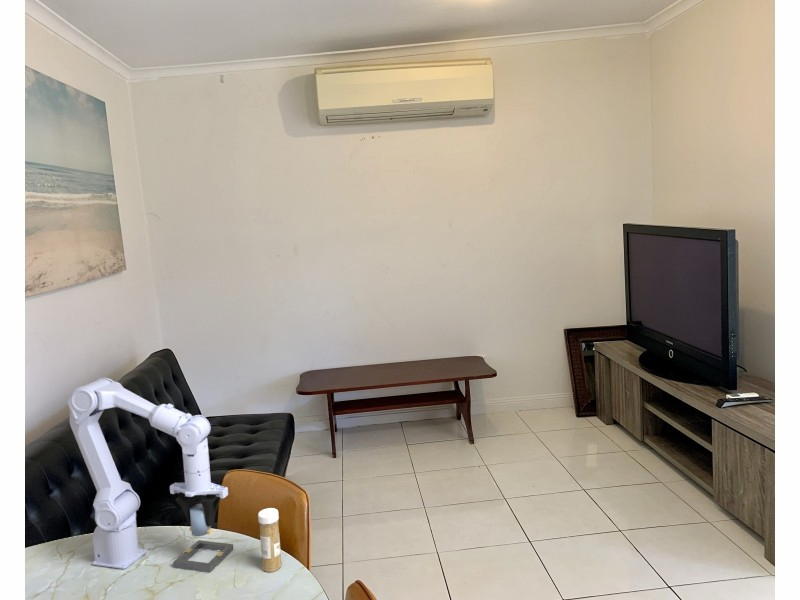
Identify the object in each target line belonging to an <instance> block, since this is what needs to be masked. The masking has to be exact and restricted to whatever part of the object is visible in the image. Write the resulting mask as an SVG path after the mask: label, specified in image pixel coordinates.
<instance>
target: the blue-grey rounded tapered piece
mask: <svg viewBox="0 0 800 600" xmlns="http://www.w3.org/2000/svg"><path fill="white" fill-rule="evenodd" d="M190 518H191V525H190V527H189V532H191V535H192V536H193V537H203V536H206V535H211V534H212V533H214V528H212V525H211V526H209V527H208V526H207V525H206V519H205V512H204V508H203V506H202V504H201V503H196V505H194V506H192V507H191V508H190Z"/></svg>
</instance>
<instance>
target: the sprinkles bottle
mask: <svg viewBox="0 0 800 600" xmlns="http://www.w3.org/2000/svg"><path fill="white" fill-rule="evenodd" d="M279 518H280V516H279V510H278V509H276V508H274V507H268V508H264V509H262V510H260V511H259V512H258V515H257V519H258V524H259V537H260V538H259V539H260V541H259V542H260V551H261V552H260V553H261V559H262V560H261V561H262V566H261V568H262V570H263V571H265V572H267V573H271V572H272V573H273V572H276V571H278V570H280V569H281V567H282V566H283V562H282V555H281V551H282V550H281V541H280V540H281V539H280V532H279V531H280V528H279Z"/></svg>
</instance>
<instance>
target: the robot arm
mask: <svg viewBox="0 0 800 600" xmlns="http://www.w3.org/2000/svg"><path fill="white" fill-rule="evenodd" d="M66 403H67V405H68V408H69V425H70V428H71V430H72V431H71V432H73V435H74V438H75V440H76V443H77V445H78V448H79V450H80V453H81V455H82V457H83V460H84V463H85V465H86V467H87V470H88V472H89V475H90V477H91V480H92V482H93V485H94V487H95V490H96V494H95V498H94V499H93V504H92V506H93V509H94V521H95V523H96V525H97V526H96V527H95V528H94V531H93V534H92V544H93V555H94V560H93V562H92V563H91V564H92V565H93V566H99V567H105V568H114V569H119V570H120V569H121V570H125V569H127V568H128V567H129V566H130V565H132V564H133V563H134V562H135V561H137V560H138V559H139V558H141V557H142V556H143V555H145V554H146V553H147V552H148V549H146V548H139V540H138V539H139V538H138V529H137V511H139V508H140V506H141V499H140V495H138V493H137V492H136V491H134V490H133V488H132V486H131V483H129V482H126V481H124V480H122V479H121V476H120V473H119V471H118V469H117V466H116V463H115V461H114V459H113V456H112V454H111V451H110V449H109V446H108V443H107V441H106V439H105V436H104V434H103V431H102V428H101V427H100V426H101V425H100V423H99V419H100V417H101V416H102V414H103V412H104V410H106V409H113V408H120V409H122V410H124V411H127V412H130V413H132V414H135V415H138V416H141V417H142V418H145V419H148V421H149V424H150V426H151V427H153V428H155V429H157V430H159V431H161V432H163V433H166V434H168V435H169V436H172V437H174V438H176V442H178V444H179V445H180V447H181V450H182V451H181V452H182V460H183V461H182V462H183V463H182V464H183V473H184V476H183V477H184V482H174V483H172V484H170V486H169V492H170V494H172V495H175V494H178V497H176V498H175V501H176V503H177V505H178V506H179V507H180V508H181V510H182V511H183V513H184V516H185V517H186V520H187V524H188V525H190V526H191V518H190V508H191V507H192V506H194V505H196V504H197V498H198V497H197V496H206V497H204V498H203V499H201V501H200V504H202V506H203V508H204V512H205V519H206V525H207V526H208V527H209V526H211V527H212V525H213V524H214V523H215V521H216V519H215V518H216V513H217V509H218V506H219V503H220V501H221V499H224V498H226V497H227V496H229V488H228V486H222V485H220V484H216V483H214V482H212V480H211V479H212V478H211V468H210V467H211V466H210V455H209V445H208V444H209V443H208V435H210V433H211V424H210V422H209V420H208V419H207V418H206V417H204V416H203V415H202V414H196V415H192V414H191V413H189V412H188V413H186V412H184V411H181V410H179V409H177V408H175V407H174V405H173V404H172V403H168V404H166V403H162V404H159V405H156V404H154V403H152V402H151V401H149V400H147V399H145V398H143V397H142V396H140V395H137V393H134V392H132V391H131V390H129V389H126V388H124V386H123V385H122V384H121V382H118V381H114V380H113V379H111V378H108V377H101V378H98V379H97V380H95V381H91V382H90V383H88V384H85V385H82V386H79V387H77V388H74V389H73V390H72V391H71V394H70V395H69V397H68V398H67V399H66Z"/></svg>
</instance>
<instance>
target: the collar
mask: <svg viewBox="0 0 800 600" xmlns="http://www.w3.org/2000/svg"><path fill="white" fill-rule="evenodd" d="M199 549H200V550H206V549H211V550H210V551H214V550H220V551H218V552H217V553H216V555H215V556H214V557H213V558H212V559H211V560H210V561H209V562H205V561H204V562H202V561H193V560H190V559H191V558H192V557H193V556H194V555H195V554H196V553H197V552H199V551H198V550H199ZM234 549H235V548H234V544H233V543H226V542H219V541H209V540H200V539H199V540H197V541H196V542H195V543H193V544H192V545H191V546H190V547H187V549H185V550H184V552H183V553H182V554H180V555H179V556H178V557H177V558H176V559H174V561H173V565H172V566H173V569H178V570H179V569H180V570H186V569H187V570H186V571H193V570H195V572H203V573H210V572H211V573H212V572H213V571H214V570H215V569H216V568H217V567H218V566H219V565H220V564H221V563H223V561H224V560H225V559H226V558H227V557H228V556H229V555H230V554H232V552H233V551H235V550H234ZM216 566H217V567H216ZM215 567H216V568H215Z"/></svg>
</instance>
